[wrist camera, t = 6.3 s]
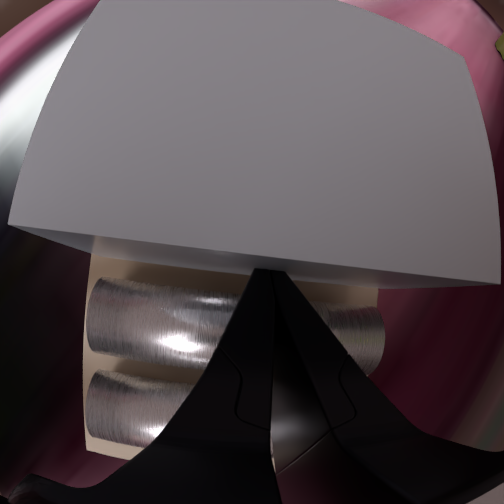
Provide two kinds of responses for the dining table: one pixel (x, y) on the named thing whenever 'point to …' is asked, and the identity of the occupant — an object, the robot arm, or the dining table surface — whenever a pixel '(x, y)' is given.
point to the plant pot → (500, 45)
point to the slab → (265, 146)
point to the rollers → (180, 349)
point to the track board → (192, 281)
